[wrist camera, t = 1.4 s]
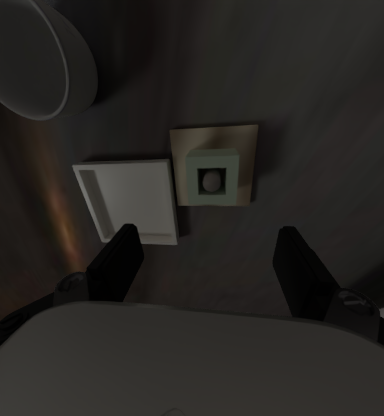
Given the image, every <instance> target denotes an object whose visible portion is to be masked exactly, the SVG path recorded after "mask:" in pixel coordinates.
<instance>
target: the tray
mask: <svg viewBox="0 0 384 416" xmlns="http://www.w3.org/2000/svg"><path fill="white" fill-rule="evenodd" d="M72 167H73V169H74V172H75V174H76V177H77V179H78V182H79V185H80V187H81V190H82V192H83V195H84V197H85V200H86V202H87V205H88V208H89V210H90V213H91V215H92V218H93V220H94V223H95V225H96V228H97V230H98V233H99V236H100V238H101V241H102V242H109V241H110V240H111V239H112V238H113V236H114V235H115V234H116V233H117V232H118V231H119V229H120V228H121V227H122V226H123V225H124V224H125V223H130V224H134V225H135V226H137V229H138V233H139V237H140V241H141V244H166V245H177V244H178V241H179V230H178V222H177V213H176V205H175V196H174V188H173V179H172V171H171V163H170V159H157V160H127V161H98V162H80V163H77V164H74V165H72Z"/></svg>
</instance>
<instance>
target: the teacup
mask: <svg viewBox="0 0 384 416" xmlns="http://www.w3.org/2000/svg"><path fill="white" fill-rule="evenodd" d="M97 89H98V74H97V68H96V64H95V61H94V58H93V55H92V53H91V51H90V49H89V47H88V45H87V43H86V42H85V40H84V38H83V37H82V35H81V34H80V33H79V32H78V30H77V29H76V28H75V27H74V26H73V25H72V24H71V23H70V22H69V21H68V20H67V19H66V18H65V17H64V16H63V15H61V14H60V13H59V12H57V11H56V10H55V9H53V8H52V7H50V6H49V5H48V4H46V3H45V2H43V1H41V0H0V102H1V103H2V104H4V105H5V106H6V107H8V108H9V109H10V110H12V111H14V112H15V113H17V114H19V115H21V116H24V117H26V118H29V119H33V120H49V119H52V118H59V117H66V116H72V115H76V114H79V113H81V112H84V111H85V110H87V109H88V108H89V107H90V106H91V104H92V103H93V101H94V99H95V97H96V94H97Z"/></svg>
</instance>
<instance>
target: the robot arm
mask: <svg viewBox="0 0 384 416" xmlns="http://www.w3.org/2000/svg"><path fill="white" fill-rule="evenodd" d="M143 260H144V253H143V249H142V245H141V241H140V237H139V233H138V229H137V226H135V225H134V224H130V223H125V224H124V225H123V226H122V227H121V228H120V229H119V231H118V232H117V233H116V234H115V235H114V236H113V238H112V239H111V240H110V241H109V242H108V244H107V245H106V246H105V247H104V248H103V249H102V251H101V252H100V253H99V254H98V255H97V256H96V258H95V259H94V260H93V261H92V262H91V264H90V265H89V266H88V267H87V271H86V272H85V273H84V272H74V273H71V274H69V275H67V276H65V277H64V278H63V279H61V280H60V281H59V282H58V283H57V285H56V286H55V290H54V292H53V293H51V294H49V295H47V296H45V297H43V298H41V299H39V300H37V301H35V302H33V303H31V304H28V305H26V306H24V307H22V308H20V309H18V310H16V311H14V312H12V313H11V314H9V315H8V316H6V317H5V318H3V319H2V320H1V321H0V416H384V318H382V317H380V311H379V309H378V307H377V306H376V305H375V303H374V302H373V301H372V300H370V299H369V298H368V297H367V296H365V295H363V294H362V293H360V292H358V291H355V290H353V289H349V288H341V287H340V286H339V285H338V283H337V282H336V281H335V279H334V278H333V277H332V275H331V274H330V272H329V271H328V270H327V268H326V267H325V266H324V264H323V263H322V262H321V260H320V259H319V257H318V256H317V255H316V253H315V252H314V251H313V250H312V249H310V247H309V246H308V244H307V243H306V242H305V240H304V239H303V237H302V236H301V235H300V233H299V232H298V231H297V229H296V228H295V227H293V226H284V227H283V228H282V229H280V230H279V234H278V239H277V243H276V248H275V252H274V257H273V267H274V270H275V272H276V275H277V278H278V280H279V283H280V285H281V288H282V290H283V293H284V296H285V298H286V301H287V303H288V306H289V309H290V311H291V314H292V316H293V317H287V316H278V315H268V314H257V313H246V312H235V311H224V310H213V309H201V308H189V307H177V306H165V305H152V304H139V303H127V302H123V300H124V298H125V296H126V294H127V292H128V290H129V288H130V286H131V284H132V282H133V280H134V278H135V276H136V274H137V272H138V270H139V268H140V266H141V264H142V262H143Z"/></svg>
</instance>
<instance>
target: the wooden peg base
mask: <svg viewBox="0 0 384 416" xmlns="http://www.w3.org/2000/svg"><path fill="white" fill-rule="evenodd" d="M257 134H258V125H243V126H226V127H209V128H192V129H175V130H170V138H171V147H172V156H173V165H174V174H175V183H176V192H177V201H178V206H249V205H250V196H251V187H252V178H253V169H254V160H255V152H256V143H257ZM229 148H235V149H236V150H237V152H238V154H239V155H240V156H239V170H238V184H237V198H236V205H198V204H189V202H188V189H187V176H186V164H185V157H186V155H187V154H188V153H189V151H190V150H204V149H229ZM224 172H225V168H201V182H203V186H204V188H205V189H206V190H207V191H210V192H213V191H216V190H218V189H219V187H220V185H221V182H224Z"/></svg>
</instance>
